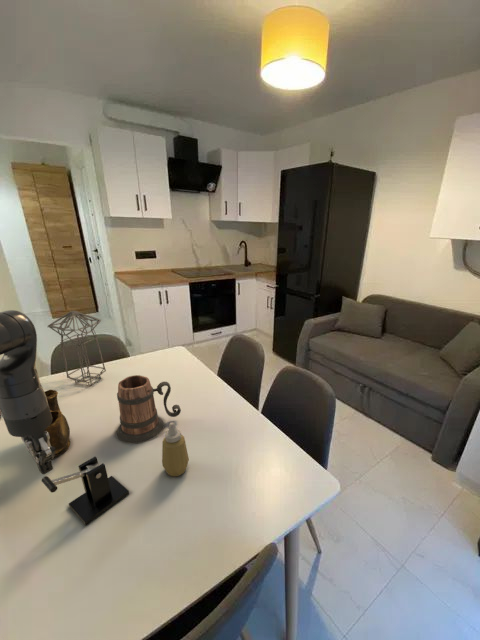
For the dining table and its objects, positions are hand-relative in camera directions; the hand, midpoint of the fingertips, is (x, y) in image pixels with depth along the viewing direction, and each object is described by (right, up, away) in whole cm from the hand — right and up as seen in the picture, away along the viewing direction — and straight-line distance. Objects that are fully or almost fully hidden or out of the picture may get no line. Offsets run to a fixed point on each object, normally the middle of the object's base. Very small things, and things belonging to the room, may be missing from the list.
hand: (46, 470), depth 67 cm
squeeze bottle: (+22, -10, +25) cm, 35 cm away
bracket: (+4, -14, +14) cm, 20 cm away
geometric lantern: (-34, +12, +72) cm, 81 cm away
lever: (+2, -5, +6) cm, 8 cm away
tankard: (+7, -1, +44) cm, 45 cm away
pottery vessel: (-21, -6, +31) cm, 38 cm away
